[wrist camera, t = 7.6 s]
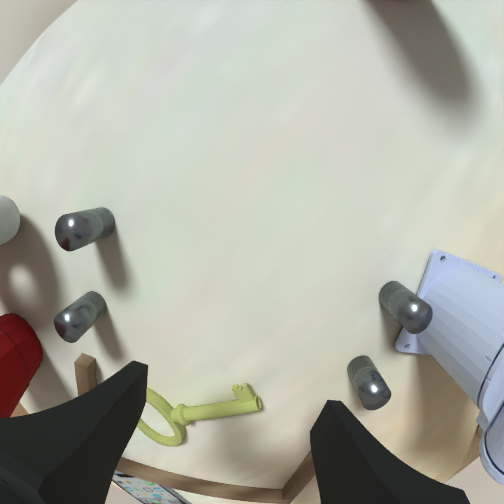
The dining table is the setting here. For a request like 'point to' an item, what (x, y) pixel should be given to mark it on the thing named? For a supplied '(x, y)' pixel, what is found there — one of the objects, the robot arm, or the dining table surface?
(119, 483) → the smartphone
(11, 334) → the plastic cup
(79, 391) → the bay
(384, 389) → the spacers
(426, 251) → the dining table surface
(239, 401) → the key
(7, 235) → the donut
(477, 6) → the dining table surface
